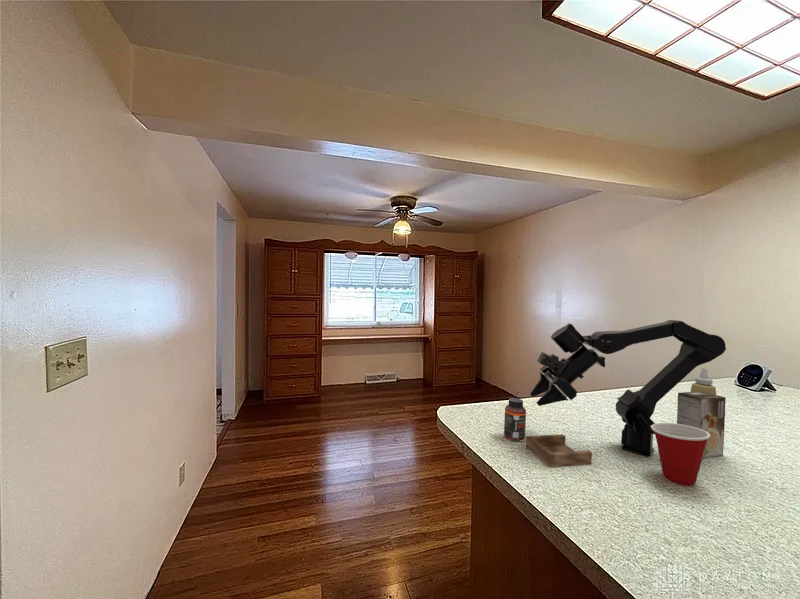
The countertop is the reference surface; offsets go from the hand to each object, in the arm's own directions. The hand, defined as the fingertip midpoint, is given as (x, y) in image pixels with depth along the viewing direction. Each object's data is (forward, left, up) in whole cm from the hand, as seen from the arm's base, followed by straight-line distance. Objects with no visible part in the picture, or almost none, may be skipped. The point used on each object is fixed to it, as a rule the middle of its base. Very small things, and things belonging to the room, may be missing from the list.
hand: (534, 399), depth 101 cm
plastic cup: (-33, -4, -12) cm, 35 cm away
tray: (-9, +5, -12) cm, 15 cm away
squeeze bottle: (-33, -66, -12) cm, 75 cm away
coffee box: (-35, -28, -12) cm, 46 cm away
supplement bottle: (+4, +3, -12) cm, 13 cm away
